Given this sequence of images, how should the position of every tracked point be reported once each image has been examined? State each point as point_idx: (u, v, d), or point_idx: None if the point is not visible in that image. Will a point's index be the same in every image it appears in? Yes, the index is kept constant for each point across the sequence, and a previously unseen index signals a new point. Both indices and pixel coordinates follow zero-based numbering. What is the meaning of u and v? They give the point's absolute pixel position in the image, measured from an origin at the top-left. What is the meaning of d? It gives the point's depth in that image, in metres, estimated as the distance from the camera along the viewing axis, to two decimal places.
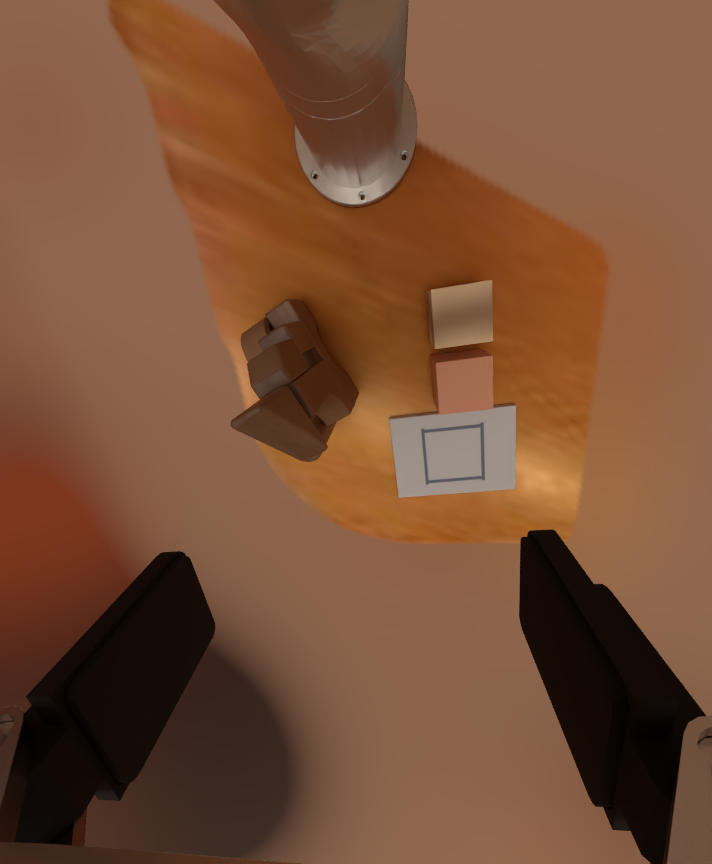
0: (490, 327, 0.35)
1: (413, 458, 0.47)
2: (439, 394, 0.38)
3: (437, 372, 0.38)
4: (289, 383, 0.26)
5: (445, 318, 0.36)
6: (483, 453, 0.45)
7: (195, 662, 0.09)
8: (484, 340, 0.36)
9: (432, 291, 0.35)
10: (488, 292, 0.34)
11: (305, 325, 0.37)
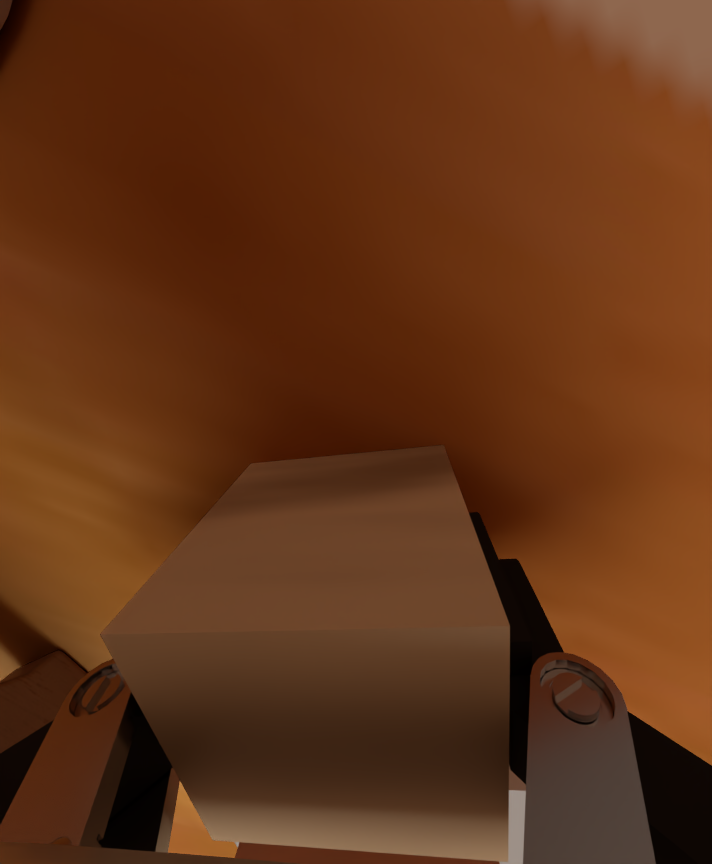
0: (496, 819, 0.06)
1: None
2: None
3: None
4: None
5: (229, 757, 0.06)
6: None
7: None
8: (462, 853, 0.06)
9: (113, 643, 0.05)
10: (482, 685, 0.05)
11: None
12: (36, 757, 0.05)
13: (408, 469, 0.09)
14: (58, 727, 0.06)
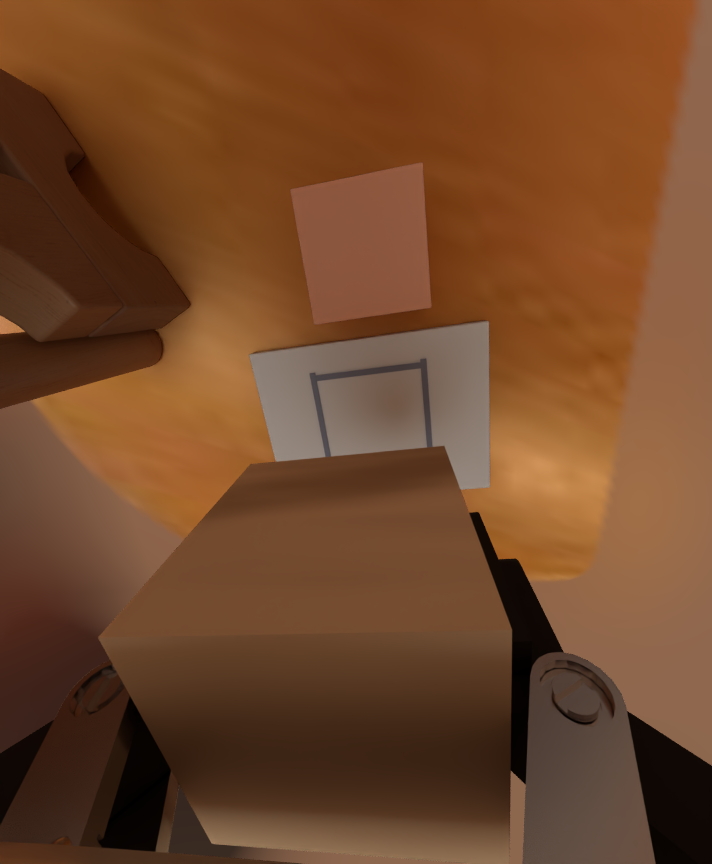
0: (497, 824, 0.06)
1: (302, 431, 0.25)
2: (308, 273, 0.17)
3: (297, 215, 0.16)
4: None
5: (228, 759, 0.06)
6: (429, 420, 0.24)
7: None
8: (462, 857, 0.06)
9: (111, 646, 0.05)
10: (484, 689, 0.05)
11: None
12: (36, 757, 0.05)
13: (409, 471, 0.09)
14: (58, 727, 0.06)
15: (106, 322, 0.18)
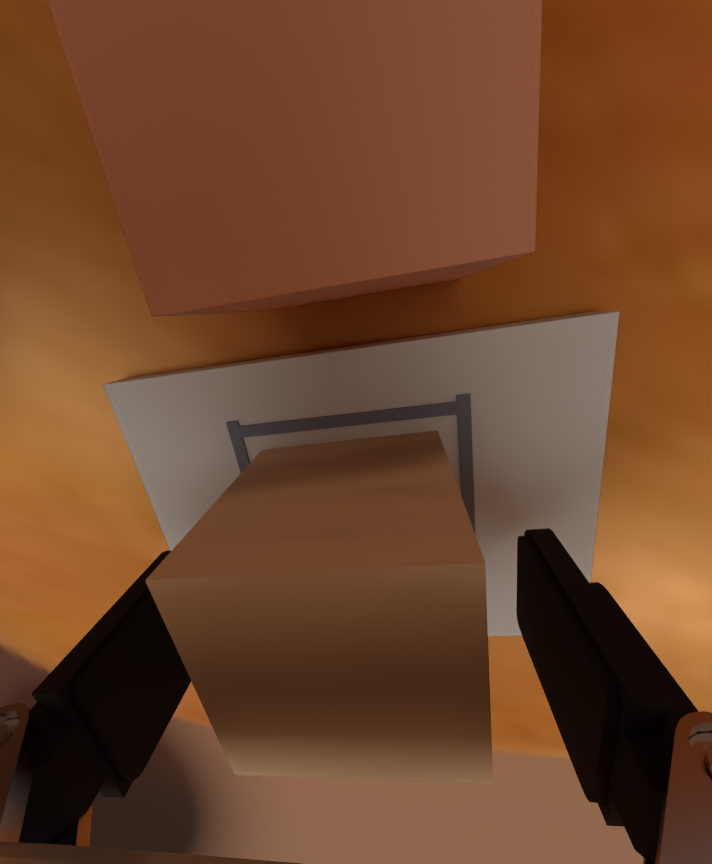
0: (480, 743, 0.07)
1: None
2: (103, 135, 0.05)
3: None
4: None
5: (251, 691, 0.07)
6: (471, 516, 0.12)
7: None
8: (452, 777, 0.07)
9: (155, 588, 0.06)
10: (465, 616, 0.06)
11: None
12: None
13: (405, 451, 0.10)
14: None
15: None
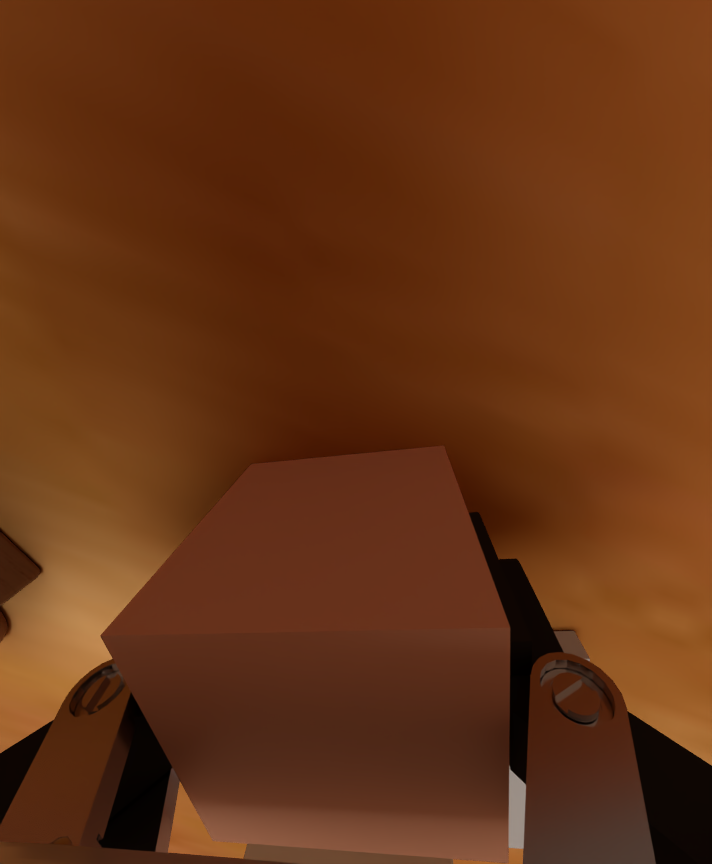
0: None
1: None
2: (184, 774, 0.06)
3: (132, 682, 0.06)
4: None
5: None
6: None
7: None
8: None
9: None
10: None
11: None
12: (36, 757, 0.05)
13: None
14: (58, 727, 0.06)
15: None
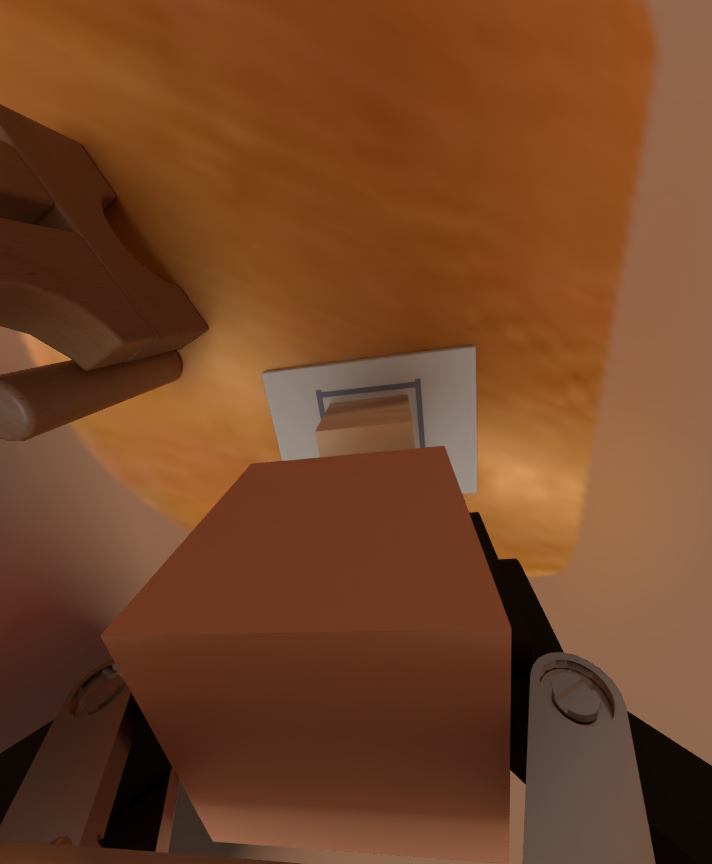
0: None
1: (308, 441, 0.28)
2: (184, 774, 0.06)
3: (132, 682, 0.06)
4: None
5: None
6: (422, 433, 0.27)
7: None
8: None
9: (317, 434, 0.21)
10: (408, 439, 0.21)
11: (32, 160, 0.18)
12: (36, 757, 0.05)
13: (393, 401, 0.25)
14: (58, 727, 0.06)
15: (139, 350, 0.21)
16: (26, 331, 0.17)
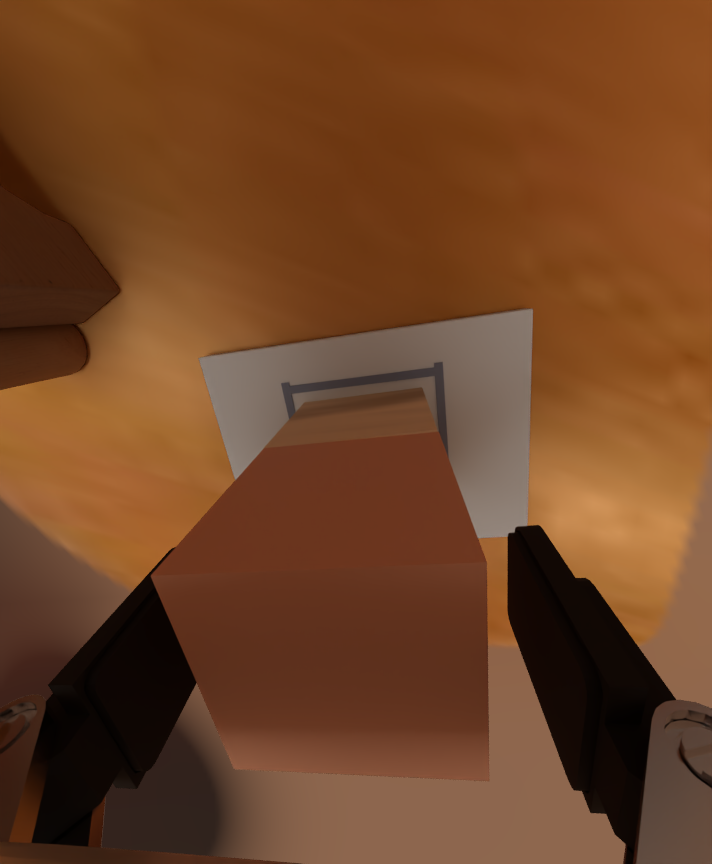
0: None
1: None
2: (212, 704, 0.07)
3: (174, 618, 0.07)
4: None
5: None
6: (445, 447, 0.18)
7: None
8: None
9: None
10: None
11: None
12: None
13: (400, 397, 0.15)
14: None
15: None
16: None
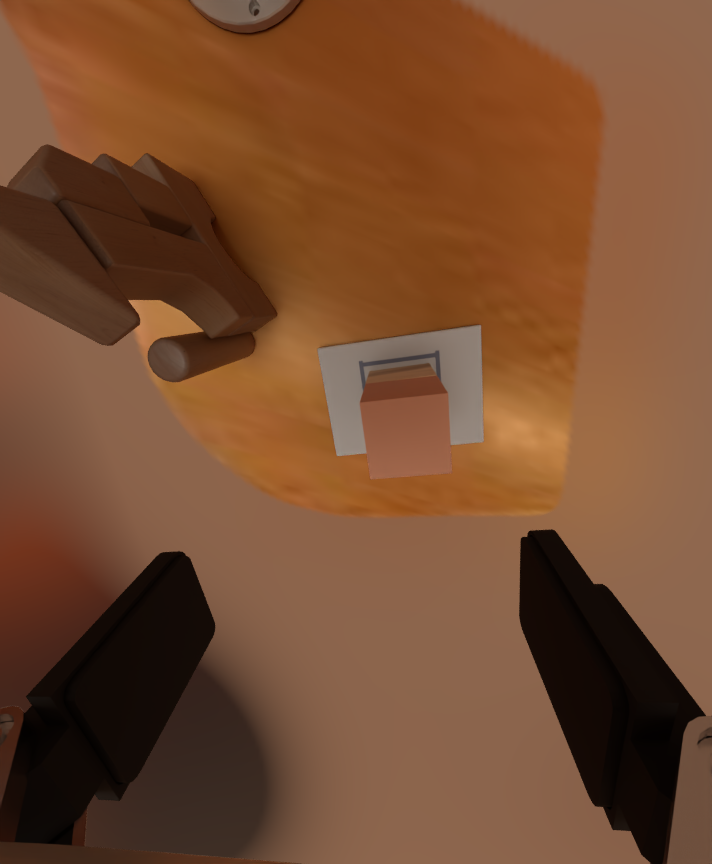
0: None
1: (351, 402, 0.36)
2: (368, 449, 0.25)
3: (363, 417, 0.24)
4: (58, 200, 0.15)
5: None
6: None
7: (195, 662, 0.09)
8: None
9: None
10: None
11: (178, 196, 0.27)
12: None
13: (419, 366, 0.33)
14: None
15: (240, 326, 0.29)
16: (181, 309, 0.25)
